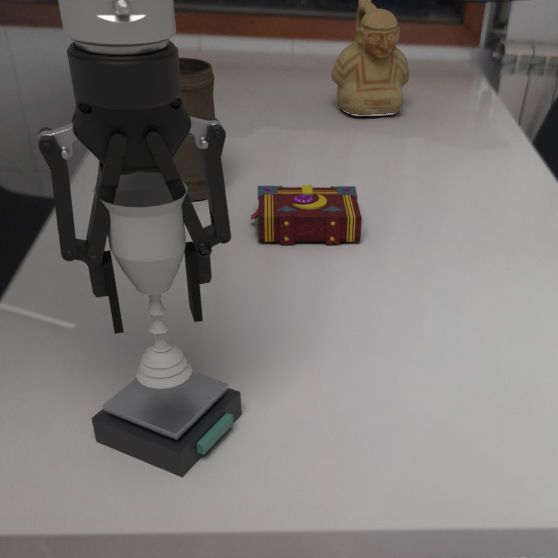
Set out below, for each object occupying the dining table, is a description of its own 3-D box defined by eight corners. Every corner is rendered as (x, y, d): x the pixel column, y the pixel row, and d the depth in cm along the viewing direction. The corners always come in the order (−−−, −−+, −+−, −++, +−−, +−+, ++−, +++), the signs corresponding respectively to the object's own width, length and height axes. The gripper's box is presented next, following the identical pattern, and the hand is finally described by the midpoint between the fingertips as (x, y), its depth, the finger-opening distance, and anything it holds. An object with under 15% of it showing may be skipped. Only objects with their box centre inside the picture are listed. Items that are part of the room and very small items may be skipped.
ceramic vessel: (340, 125, 148) (346, -8, 134) (321, 97, 164) (324, -25, 149) (418, 123, 152) (432, -7, 138) (392, 96, 167) (402, -24, 153)
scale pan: (102, 411, 67) (101, 405, 67) (159, 364, 73) (158, 359, 73) (176, 440, 64) (176, 434, 64) (229, 389, 71) (228, 383, 70)
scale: (96, 441, 69) (91, 418, 67) (161, 385, 76) (158, 362, 74) (188, 480, 65) (185, 456, 63) (247, 417, 73) (246, 393, 71)
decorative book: (361, 245, 105) (363, 214, 102) (249, 245, 103) (248, 213, 100) (353, 212, 114) (355, 182, 111) (251, 212, 112) (250, 181, 109)
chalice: (108, 381, 65) (74, 195, 55) (151, 343, 70) (127, 166, 60) (178, 403, 63) (156, 214, 53) (217, 362, 68) (204, 182, 58)
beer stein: (203, 170, 125) (187, 50, 113) (239, 189, 119) (226, 65, 106) (123, 197, 117) (96, 70, 105) (158, 219, 111) (133, 88, 98)
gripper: (-32, 59, 44) (42, 360, 58) (268, 49, 50) (273, 326, 63) (-25, 32, 50) (41, 312, 63) (244, 26, 56) (253, 284, 69)
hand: (157, 318), depth 63 cm, fingers closed on chalice, 6 cm apart
